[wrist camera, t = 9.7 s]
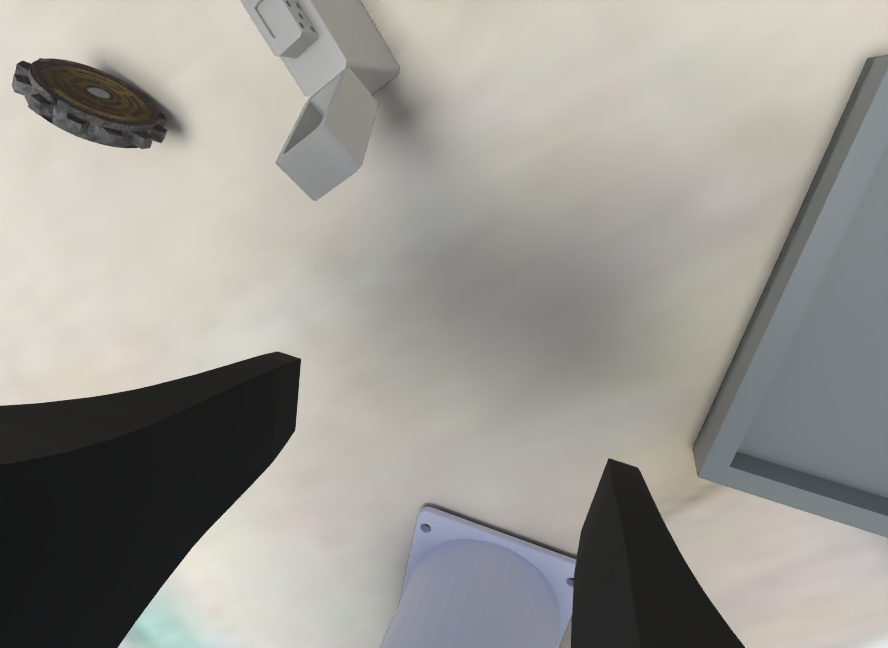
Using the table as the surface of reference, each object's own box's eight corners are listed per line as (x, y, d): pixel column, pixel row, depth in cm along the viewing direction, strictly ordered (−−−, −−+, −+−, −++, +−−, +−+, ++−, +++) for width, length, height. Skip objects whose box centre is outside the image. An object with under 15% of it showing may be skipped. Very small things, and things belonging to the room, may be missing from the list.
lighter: (302, -5, 20) (126, -60, 13) (337, -39, 19) (170, -116, 12) (408, 170, 21) (300, 207, 14) (445, 145, 21) (350, 170, 14)
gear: (95, 77, 24) (-27, 73, 19) (101, 56, 23) (-23, 47, 19) (189, 148, 24) (88, 161, 19) (196, 129, 23) (95, 136, 19)
